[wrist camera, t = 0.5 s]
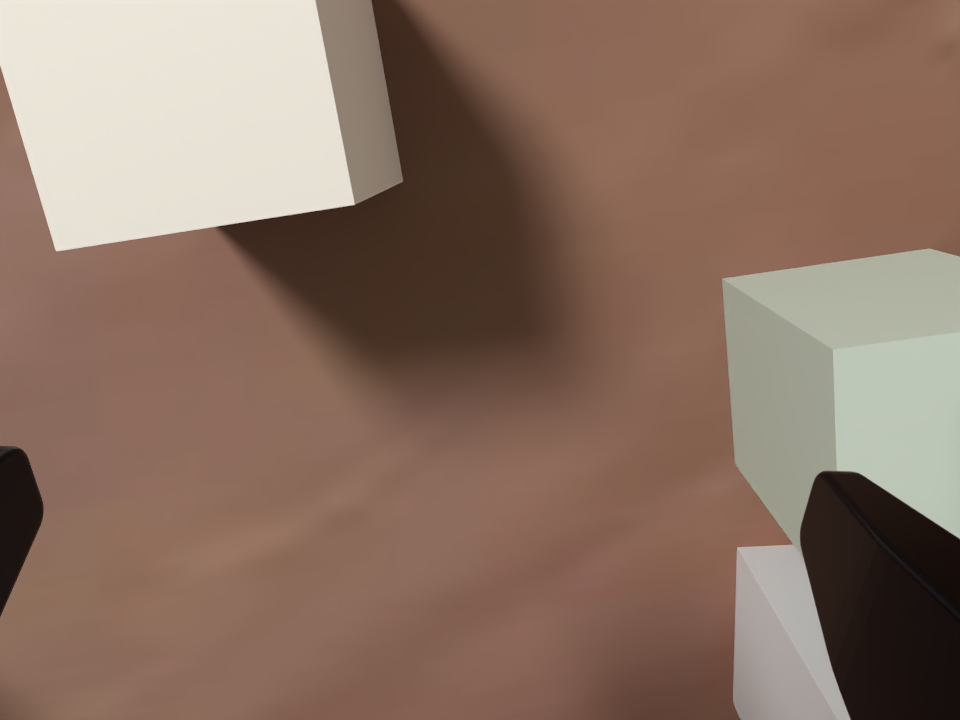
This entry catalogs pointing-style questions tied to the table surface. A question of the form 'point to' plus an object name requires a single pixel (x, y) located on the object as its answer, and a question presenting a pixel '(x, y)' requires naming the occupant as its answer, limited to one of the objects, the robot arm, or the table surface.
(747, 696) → the grey marked block
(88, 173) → the plain cream block
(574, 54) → the table surface
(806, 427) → the sage marked block
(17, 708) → the table surface
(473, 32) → the table surface
